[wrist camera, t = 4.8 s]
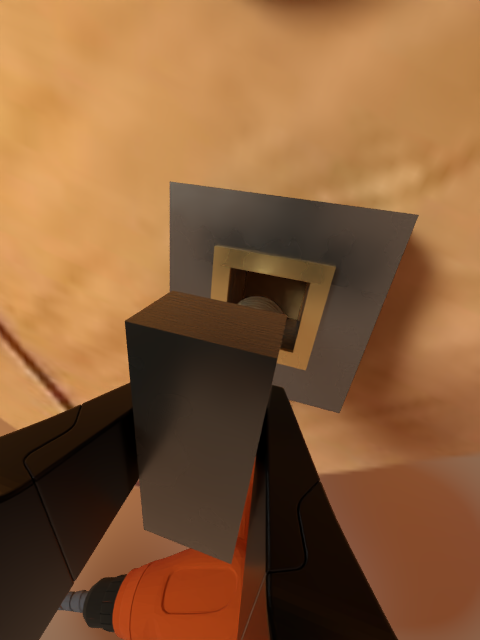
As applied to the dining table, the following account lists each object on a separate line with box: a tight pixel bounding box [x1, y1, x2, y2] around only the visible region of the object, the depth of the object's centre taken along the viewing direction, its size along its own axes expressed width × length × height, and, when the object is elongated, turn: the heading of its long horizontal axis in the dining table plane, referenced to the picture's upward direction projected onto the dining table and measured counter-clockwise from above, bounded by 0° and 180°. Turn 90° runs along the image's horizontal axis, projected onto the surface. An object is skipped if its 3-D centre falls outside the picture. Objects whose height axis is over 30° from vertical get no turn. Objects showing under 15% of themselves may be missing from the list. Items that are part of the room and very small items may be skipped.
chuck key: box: [125, 291, 287, 564], centre depth 10 cm, size 3×7×8 cm, turn 173°
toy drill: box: [58, 457, 256, 640], centre depth 22 cm, size 5×19×15 cm, turn 109°
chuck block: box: [170, 182, 418, 413], centre depth 19 cm, size 12×20×5 cm, turn 173°
